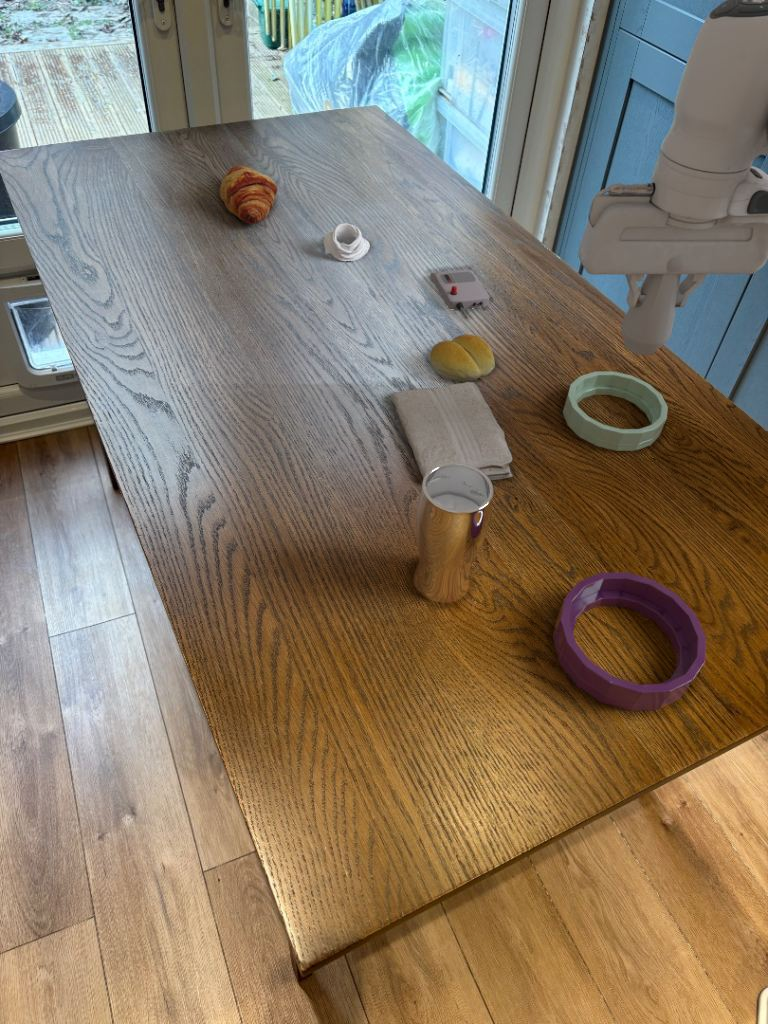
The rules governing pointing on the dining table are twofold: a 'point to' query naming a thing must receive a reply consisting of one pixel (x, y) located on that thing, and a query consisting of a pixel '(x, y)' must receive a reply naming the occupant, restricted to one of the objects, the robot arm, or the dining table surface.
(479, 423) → the washcloth
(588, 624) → the dining table surface
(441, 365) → the bread roll
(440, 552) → the shiny metal tumbler
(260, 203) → the croissant
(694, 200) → the robot arm
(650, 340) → the grey pawn peg
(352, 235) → the white ruffled cup
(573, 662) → the purple bangle bracelet
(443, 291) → the grey electronic control box
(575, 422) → the green faceted bangle
